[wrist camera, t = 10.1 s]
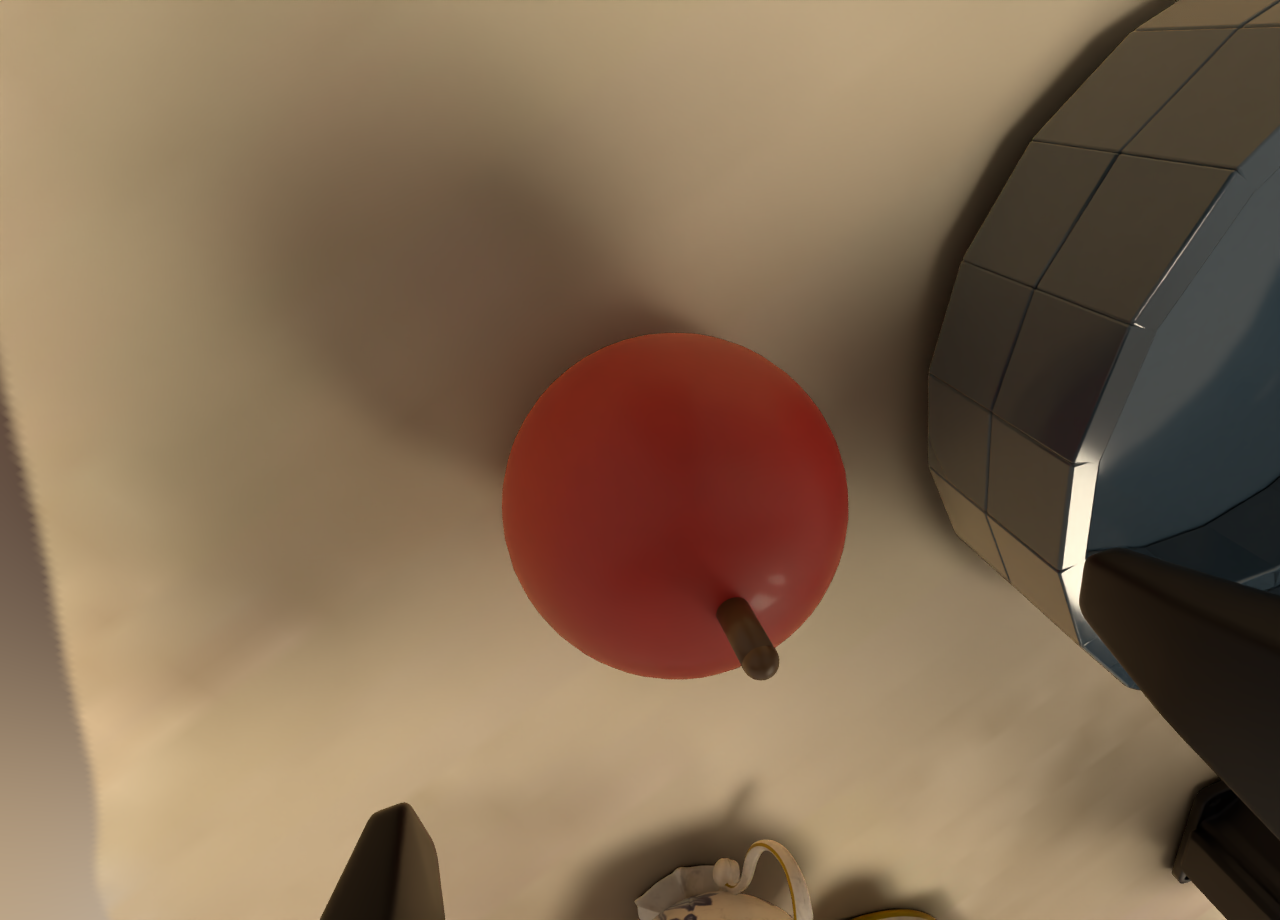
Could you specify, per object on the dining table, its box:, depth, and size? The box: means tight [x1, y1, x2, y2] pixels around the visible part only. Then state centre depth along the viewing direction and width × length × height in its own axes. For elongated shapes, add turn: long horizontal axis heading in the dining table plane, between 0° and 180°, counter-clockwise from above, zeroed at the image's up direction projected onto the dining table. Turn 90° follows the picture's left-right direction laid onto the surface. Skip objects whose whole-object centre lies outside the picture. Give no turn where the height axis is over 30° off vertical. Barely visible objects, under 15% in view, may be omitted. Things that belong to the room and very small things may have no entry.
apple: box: [502, 333, 848, 680], centre depth 13 cm, size 6×6×7 cm
